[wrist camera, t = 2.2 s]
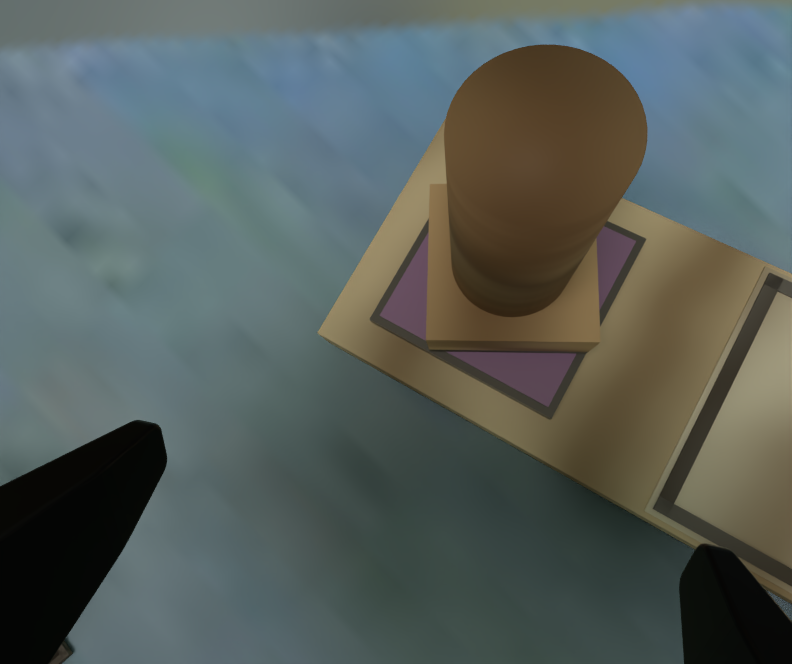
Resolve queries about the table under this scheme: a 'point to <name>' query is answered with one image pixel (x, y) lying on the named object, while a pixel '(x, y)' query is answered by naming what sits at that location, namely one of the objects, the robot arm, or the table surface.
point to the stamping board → (634, 383)
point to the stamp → (529, 201)
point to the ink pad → (504, 372)
